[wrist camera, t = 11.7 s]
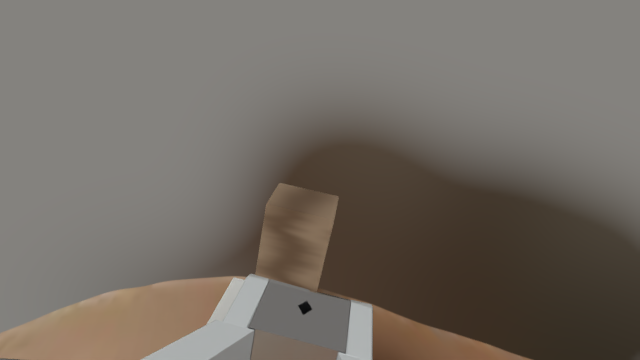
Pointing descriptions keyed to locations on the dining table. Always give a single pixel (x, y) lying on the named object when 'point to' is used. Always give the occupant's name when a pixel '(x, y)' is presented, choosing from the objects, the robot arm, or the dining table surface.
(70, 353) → the dining table surface
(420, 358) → the dining table surface
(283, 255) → the walnut post
